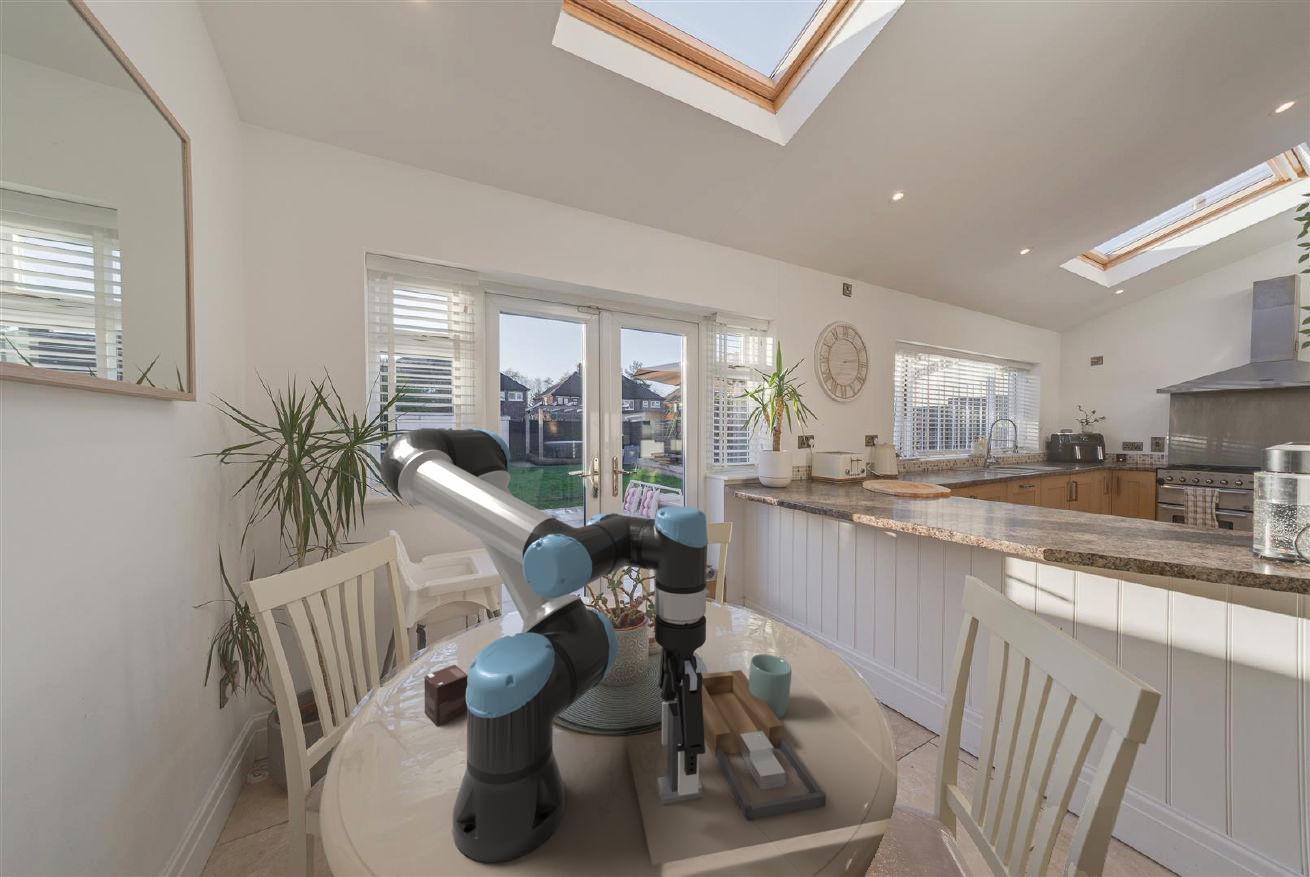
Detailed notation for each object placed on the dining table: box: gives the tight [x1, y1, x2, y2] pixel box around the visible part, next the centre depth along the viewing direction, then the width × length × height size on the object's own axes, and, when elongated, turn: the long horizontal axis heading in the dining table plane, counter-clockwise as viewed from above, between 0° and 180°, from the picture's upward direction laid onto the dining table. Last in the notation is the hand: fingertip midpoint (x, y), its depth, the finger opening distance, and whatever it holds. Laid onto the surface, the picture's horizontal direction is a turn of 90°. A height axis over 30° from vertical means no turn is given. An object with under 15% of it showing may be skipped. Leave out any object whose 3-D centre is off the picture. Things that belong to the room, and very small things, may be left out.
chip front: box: [748, 753, 786, 791], centre depth 69 cm, size 4×4×3 cm
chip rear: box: [740, 731, 775, 768], centre depth 73 cm, size 4×4×3 cm
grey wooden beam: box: [656, 703, 703, 805], centre depth 66 cm, size 6×3×14 cm, turn 102°
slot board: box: [701, 669, 784, 757], centre depth 83 cm, size 13×18×5 cm
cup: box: [748, 654, 792, 719], centre depth 87 cm, size 8×8×10 cm
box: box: [423, 664, 468, 726], centre depth 86 cm, size 6×6×7 cm
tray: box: [716, 738, 827, 822], centre depth 68 cm, size 12×12×3 cm
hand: (678, 765), depth 66 cm, fingers open, 9 cm apart
